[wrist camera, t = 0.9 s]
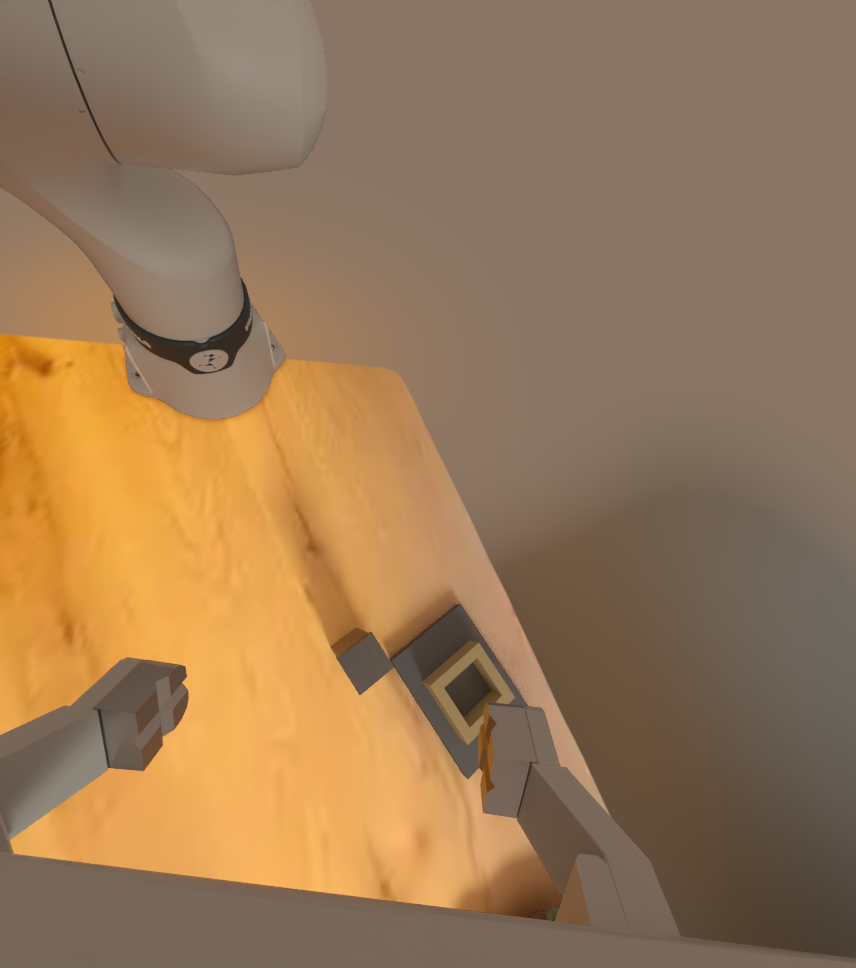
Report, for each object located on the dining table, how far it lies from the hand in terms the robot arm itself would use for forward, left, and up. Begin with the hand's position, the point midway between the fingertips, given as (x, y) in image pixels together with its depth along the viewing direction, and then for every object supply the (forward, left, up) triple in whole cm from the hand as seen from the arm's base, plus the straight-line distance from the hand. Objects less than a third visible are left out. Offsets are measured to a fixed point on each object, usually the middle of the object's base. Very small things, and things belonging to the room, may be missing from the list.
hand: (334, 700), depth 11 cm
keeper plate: (+15, +14, -40) cm, 44 cm away
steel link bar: (+5, +3, -40) cm, 40 cm away
